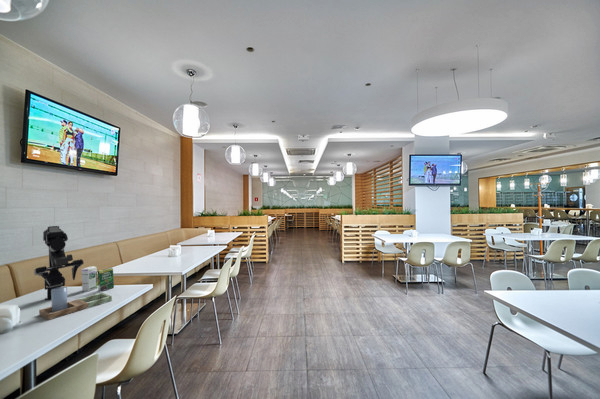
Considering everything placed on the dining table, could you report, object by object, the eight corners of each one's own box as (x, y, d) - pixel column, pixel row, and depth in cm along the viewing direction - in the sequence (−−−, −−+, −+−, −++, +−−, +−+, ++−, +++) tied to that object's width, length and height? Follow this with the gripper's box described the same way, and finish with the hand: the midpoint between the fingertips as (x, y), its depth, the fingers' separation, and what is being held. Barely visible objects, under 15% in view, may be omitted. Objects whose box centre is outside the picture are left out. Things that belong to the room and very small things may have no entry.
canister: (57, 310, 136) (56, 287, 136) (70, 309, 137) (69, 286, 137) (48, 315, 130) (48, 291, 130) (62, 314, 131) (61, 289, 131)
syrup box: (89, 291, 166) (88, 268, 166) (81, 290, 167) (81, 268, 167) (97, 288, 171) (97, 266, 171) (90, 287, 172) (90, 266, 173)
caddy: (47, 320, 125) (47, 314, 125) (39, 314, 131) (39, 310, 131) (111, 300, 148) (111, 296, 148) (101, 296, 154) (101, 292, 154)
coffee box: (99, 291, 164) (99, 271, 164) (97, 290, 166) (97, 270, 166) (114, 287, 171) (113, 268, 171) (112, 287, 172) (111, 267, 173)
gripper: (35, 255, 125) (40, 286, 123) (83, 246, 140) (88, 274, 138) (31, 259, 132) (36, 289, 129) (78, 251, 147) (83, 278, 144)
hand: (62, 282), depth 135 cm, fingers open, 9 cm apart
